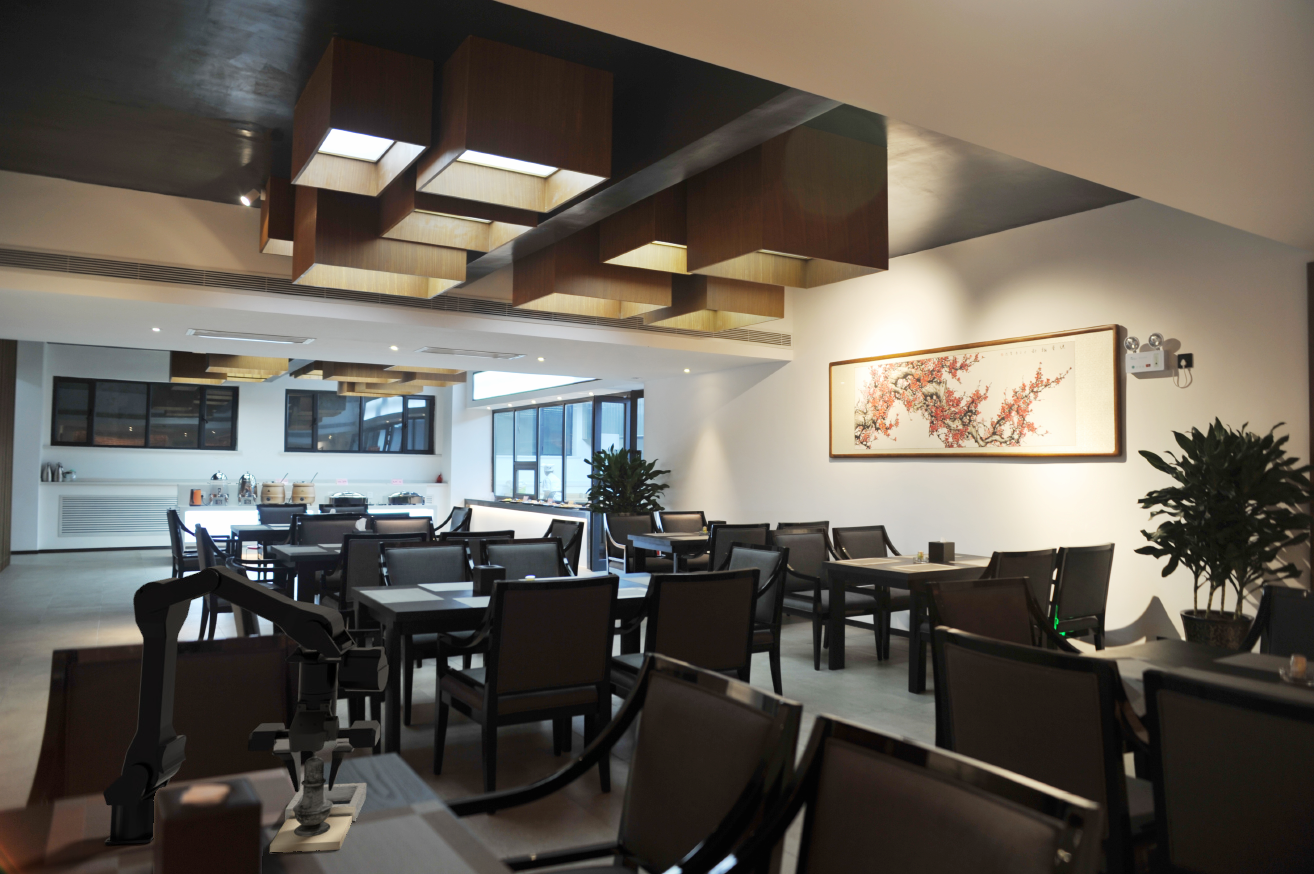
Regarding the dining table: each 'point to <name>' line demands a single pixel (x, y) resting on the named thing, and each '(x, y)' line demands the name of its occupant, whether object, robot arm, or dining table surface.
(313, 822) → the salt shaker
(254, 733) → the robot arm
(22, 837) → the dining table surface
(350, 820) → the wooden square board
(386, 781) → the dining table surface
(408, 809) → the dining table surface
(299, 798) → the grey square frame
